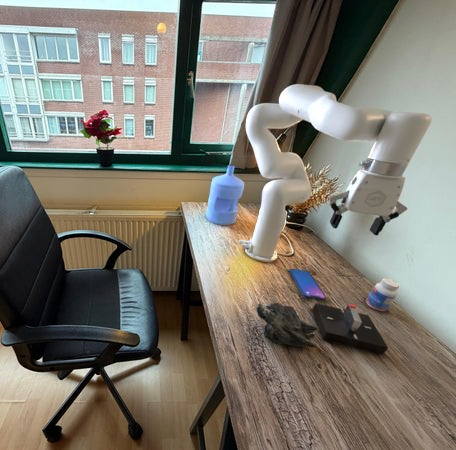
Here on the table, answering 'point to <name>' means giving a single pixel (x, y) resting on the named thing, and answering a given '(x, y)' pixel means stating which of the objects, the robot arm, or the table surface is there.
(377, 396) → the table surface
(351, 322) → the tap handle
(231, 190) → the water jug
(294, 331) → the mineral specimen
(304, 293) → the smartphone
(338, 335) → the plate
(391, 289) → the pill bottle
